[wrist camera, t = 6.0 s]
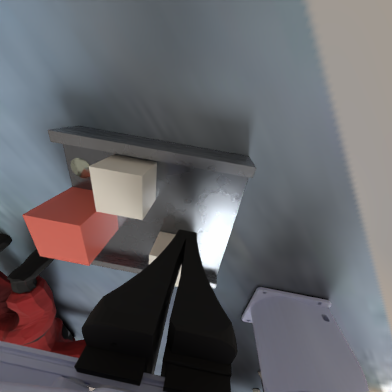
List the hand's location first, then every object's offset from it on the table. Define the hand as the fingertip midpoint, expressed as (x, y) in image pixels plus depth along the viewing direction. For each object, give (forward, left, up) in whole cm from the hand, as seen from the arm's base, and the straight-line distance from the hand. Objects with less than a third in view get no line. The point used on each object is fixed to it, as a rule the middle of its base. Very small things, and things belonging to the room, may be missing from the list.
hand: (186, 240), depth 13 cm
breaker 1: (+5, -3, -3) cm, 7 cm away
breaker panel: (+4, +1, -5) cm, 6 cm away
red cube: (+9, +1, -3) cm, 10 cm away
